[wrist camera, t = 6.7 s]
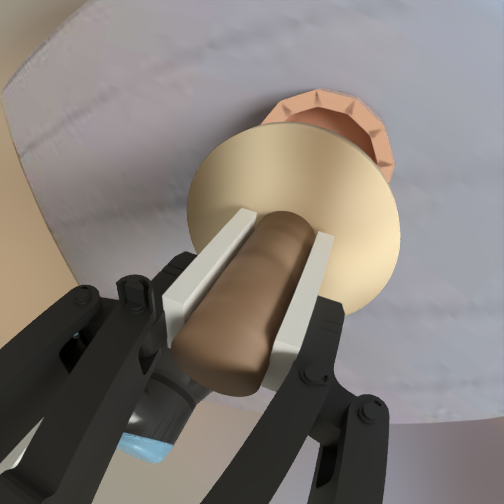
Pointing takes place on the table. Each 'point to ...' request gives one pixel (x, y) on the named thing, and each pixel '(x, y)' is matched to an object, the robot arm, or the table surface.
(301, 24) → the table surface
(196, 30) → the table surface
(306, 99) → the bowl
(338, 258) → the lid
